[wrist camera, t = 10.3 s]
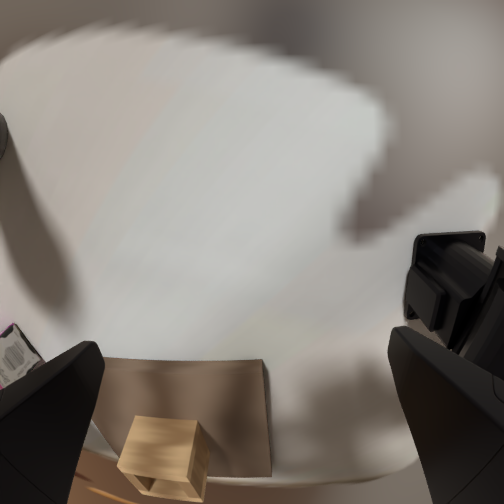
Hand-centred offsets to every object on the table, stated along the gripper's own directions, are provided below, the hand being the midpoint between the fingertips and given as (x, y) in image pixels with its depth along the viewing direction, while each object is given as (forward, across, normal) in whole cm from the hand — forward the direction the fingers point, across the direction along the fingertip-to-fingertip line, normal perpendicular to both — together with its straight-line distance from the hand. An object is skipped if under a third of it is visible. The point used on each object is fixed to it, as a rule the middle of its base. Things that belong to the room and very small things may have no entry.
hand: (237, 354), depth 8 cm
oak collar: (+10, +9, +19) cm, 23 cm away
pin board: (+11, +9, +19) cm, 24 cm away
